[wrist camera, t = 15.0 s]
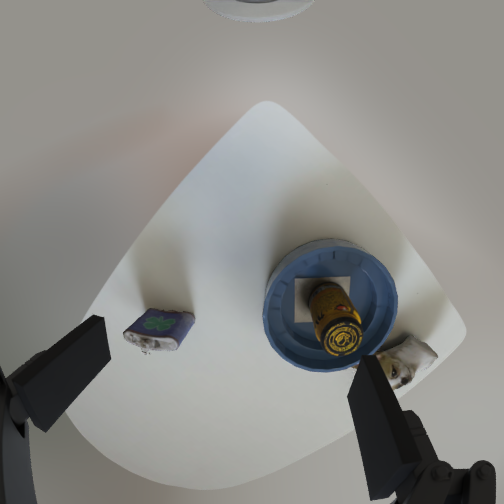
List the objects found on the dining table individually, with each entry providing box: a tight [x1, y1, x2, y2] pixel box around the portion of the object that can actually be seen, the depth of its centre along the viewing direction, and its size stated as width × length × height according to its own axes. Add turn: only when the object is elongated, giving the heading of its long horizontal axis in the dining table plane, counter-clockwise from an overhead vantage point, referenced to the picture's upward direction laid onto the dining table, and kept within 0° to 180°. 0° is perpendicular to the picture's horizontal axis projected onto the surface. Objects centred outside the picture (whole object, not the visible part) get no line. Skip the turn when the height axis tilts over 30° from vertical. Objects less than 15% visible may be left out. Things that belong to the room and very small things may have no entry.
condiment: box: [295, 276, 364, 357], centre depth 36 cm, size 7×8×12 cm
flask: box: [123, 308, 195, 355], centre depth 40 cm, size 9×3×11 cm, turn 89°
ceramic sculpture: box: [352, 335, 438, 390], centre depth 39 cm, size 11×9×15 cm
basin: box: [263, 239, 398, 372], centre depth 39 cm, size 19×19×6 cm
